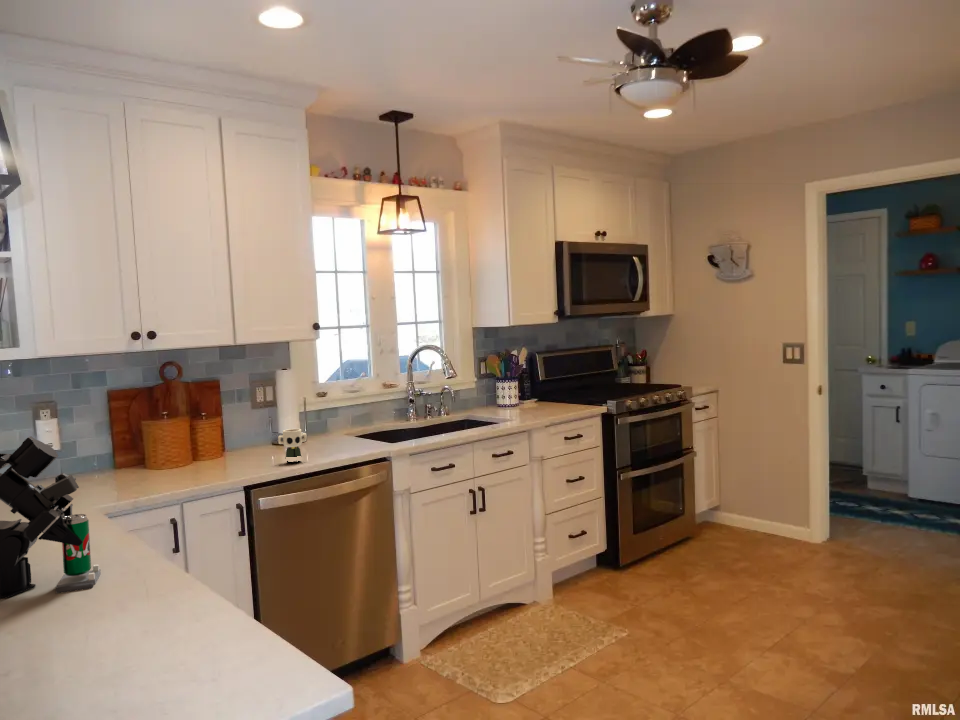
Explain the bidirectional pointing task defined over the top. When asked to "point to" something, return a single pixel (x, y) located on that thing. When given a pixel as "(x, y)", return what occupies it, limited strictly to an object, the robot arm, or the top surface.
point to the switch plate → (80, 578)
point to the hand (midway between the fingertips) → (83, 540)
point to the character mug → (292, 441)
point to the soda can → (77, 547)
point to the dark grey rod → (74, 587)
